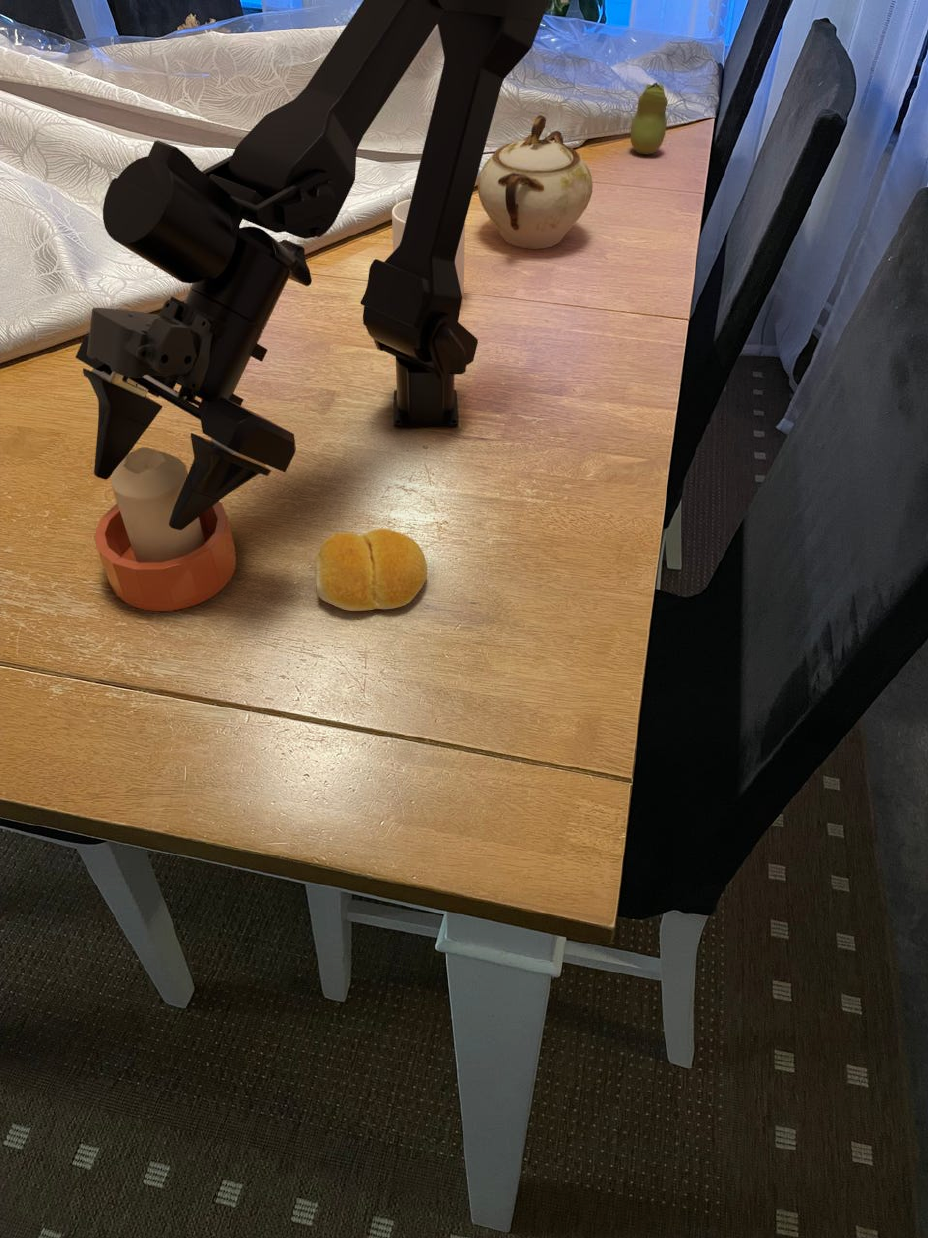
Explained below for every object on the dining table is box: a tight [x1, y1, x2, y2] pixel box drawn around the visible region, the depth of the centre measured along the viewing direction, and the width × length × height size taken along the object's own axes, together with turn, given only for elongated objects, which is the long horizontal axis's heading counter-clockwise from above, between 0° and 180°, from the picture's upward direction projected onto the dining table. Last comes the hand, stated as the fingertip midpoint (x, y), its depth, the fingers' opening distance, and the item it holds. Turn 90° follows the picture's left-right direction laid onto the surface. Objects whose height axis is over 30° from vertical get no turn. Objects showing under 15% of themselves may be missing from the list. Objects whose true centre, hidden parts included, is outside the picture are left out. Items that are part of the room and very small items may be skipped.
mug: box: [391, 198, 466, 298], centre depth 101 cm, size 12×8×10 cm
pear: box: [630, 82, 669, 155], centre depth 140 cm, size 6×5×10 cm
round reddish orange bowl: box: [93, 501, 237, 612], centre depth 70 cm, size 10×10×4 cm
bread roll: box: [315, 528, 428, 612], centre depth 70 cm, size 8×9×4 cm
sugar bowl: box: [477, 114, 594, 250], centre depth 114 cm, size 20×15×15 cm
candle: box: [109, 446, 205, 563], centre depth 68 cm, size 6×6×10 cm
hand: (136, 502), depth 66 cm, fingers open, 9 cm apart
